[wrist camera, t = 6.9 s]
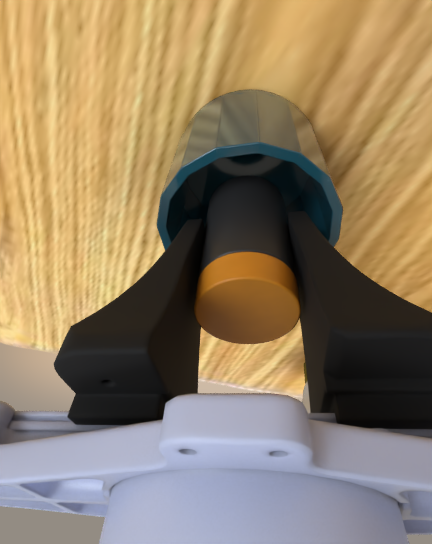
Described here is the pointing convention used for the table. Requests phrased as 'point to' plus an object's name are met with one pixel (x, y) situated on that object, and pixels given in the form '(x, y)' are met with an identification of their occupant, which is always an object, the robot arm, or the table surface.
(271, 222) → the glue stick
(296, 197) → the tumbler
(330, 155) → the table surface
